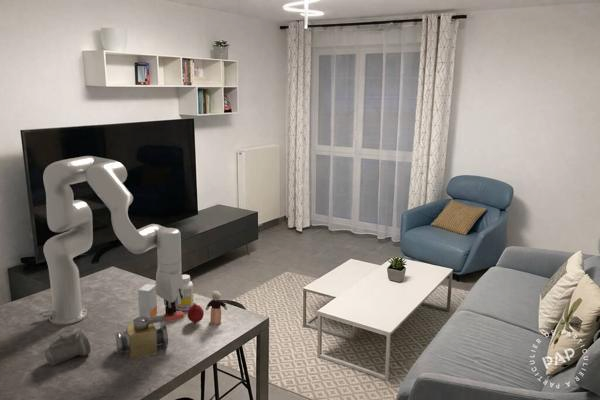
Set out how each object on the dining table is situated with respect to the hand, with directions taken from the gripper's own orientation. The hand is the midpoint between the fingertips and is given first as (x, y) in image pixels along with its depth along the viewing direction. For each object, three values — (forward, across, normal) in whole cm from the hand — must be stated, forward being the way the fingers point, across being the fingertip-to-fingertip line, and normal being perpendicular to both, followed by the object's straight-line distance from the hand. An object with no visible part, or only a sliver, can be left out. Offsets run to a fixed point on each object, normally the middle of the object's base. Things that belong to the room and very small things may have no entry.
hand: (171, 316), depth 163 cm
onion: (+8, -3, +12) cm, 15 cm away
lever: (0, +1, -6) cm, 6 cm away
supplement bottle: (+8, -16, +17) cm, 24 cm away
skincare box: (+8, -19, +3) cm, 21 cm away
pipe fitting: (+9, -12, -30) cm, 33 cm away
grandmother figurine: (+8, +3, +17) cm, 19 cm away
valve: (+8, 0, -11) cm, 14 cm away
